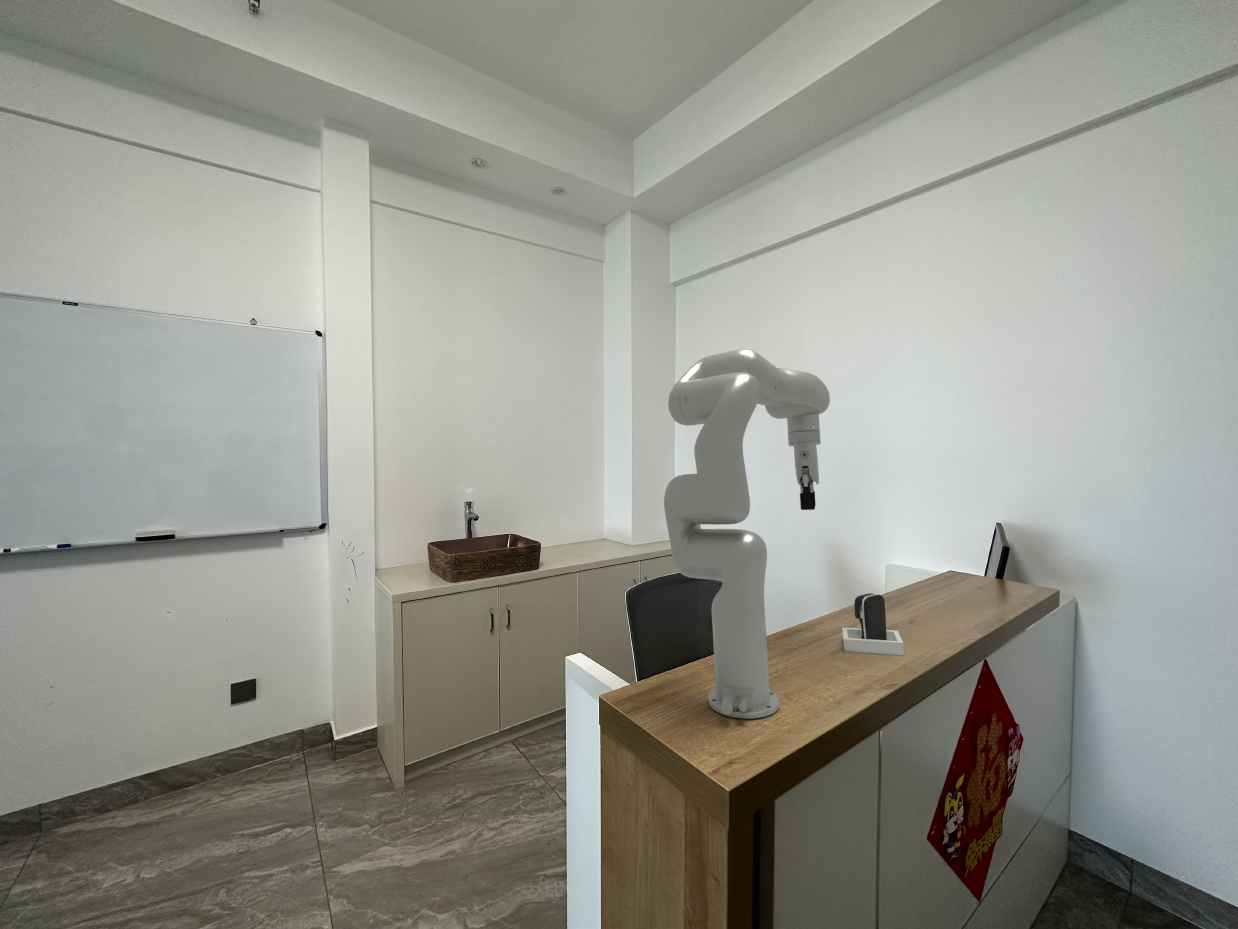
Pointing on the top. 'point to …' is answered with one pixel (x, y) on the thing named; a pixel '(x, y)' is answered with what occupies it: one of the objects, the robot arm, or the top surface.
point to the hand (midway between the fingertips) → (808, 508)
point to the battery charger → (871, 616)
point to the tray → (872, 643)
